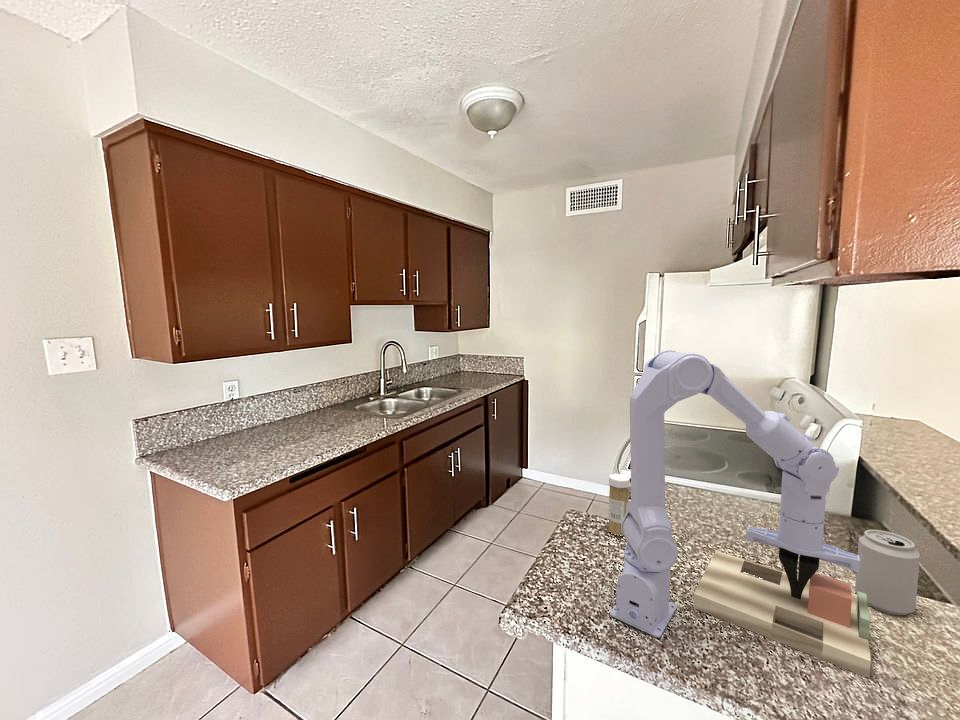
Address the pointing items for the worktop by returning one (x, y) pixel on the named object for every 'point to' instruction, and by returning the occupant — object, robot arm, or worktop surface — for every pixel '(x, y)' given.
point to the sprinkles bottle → (617, 501)
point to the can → (888, 571)
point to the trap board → (782, 612)
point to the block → (830, 599)
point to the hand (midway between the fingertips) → (796, 595)
